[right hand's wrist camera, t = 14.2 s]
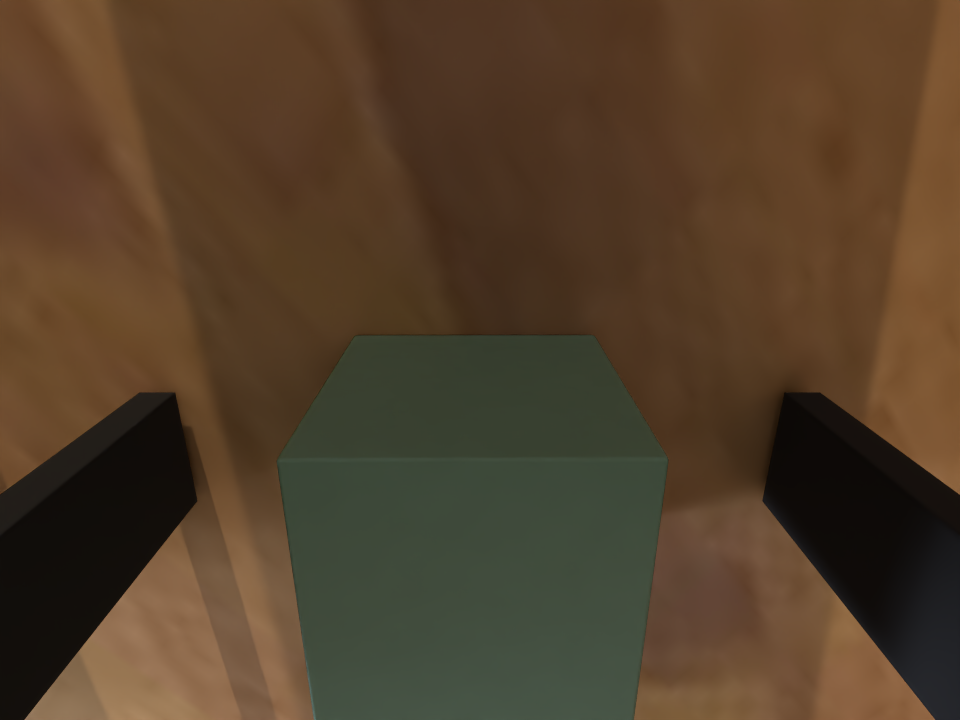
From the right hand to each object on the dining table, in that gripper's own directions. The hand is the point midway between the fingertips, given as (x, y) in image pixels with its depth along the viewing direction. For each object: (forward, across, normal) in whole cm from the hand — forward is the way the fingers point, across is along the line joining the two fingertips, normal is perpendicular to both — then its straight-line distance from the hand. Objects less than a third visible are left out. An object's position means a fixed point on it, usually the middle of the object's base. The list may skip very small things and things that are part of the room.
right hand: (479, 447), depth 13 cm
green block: (0, 0, 0) cm, 0 cm away
